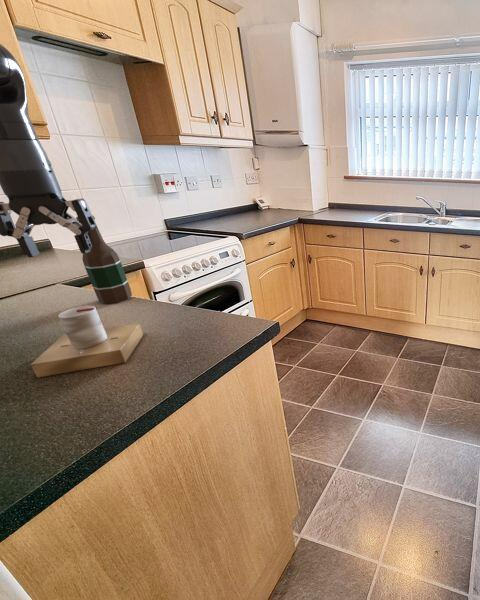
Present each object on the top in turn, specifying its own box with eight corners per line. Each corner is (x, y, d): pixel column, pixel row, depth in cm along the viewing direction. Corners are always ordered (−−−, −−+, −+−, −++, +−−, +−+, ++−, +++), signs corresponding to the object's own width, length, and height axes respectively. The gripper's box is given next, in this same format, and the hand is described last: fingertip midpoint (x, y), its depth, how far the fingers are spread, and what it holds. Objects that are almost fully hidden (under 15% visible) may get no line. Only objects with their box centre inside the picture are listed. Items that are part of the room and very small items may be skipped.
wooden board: (37, 377, 64) (29, 363, 62) (68, 346, 74) (62, 333, 73) (125, 362, 68) (120, 349, 67) (143, 334, 78) (139, 323, 77)
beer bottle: (99, 298, 99) (65, 215, 89) (131, 291, 103) (103, 212, 93) (99, 306, 93) (63, 219, 83) (133, 299, 98) (103, 215, 88)
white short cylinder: (66, 351, 67) (51, 318, 64) (80, 337, 71) (66, 306, 68) (101, 345, 68) (87, 313, 65) (111, 333, 73) (99, 302, 70)
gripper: (-46, 169, 56) (2, 263, 62) (58, 167, 59) (93, 256, 66) (-11, 168, 62) (29, 252, 69) (81, 166, 66) (111, 246, 73)
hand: (61, 254), depth 67 cm, fingers open, 8 cm apart
